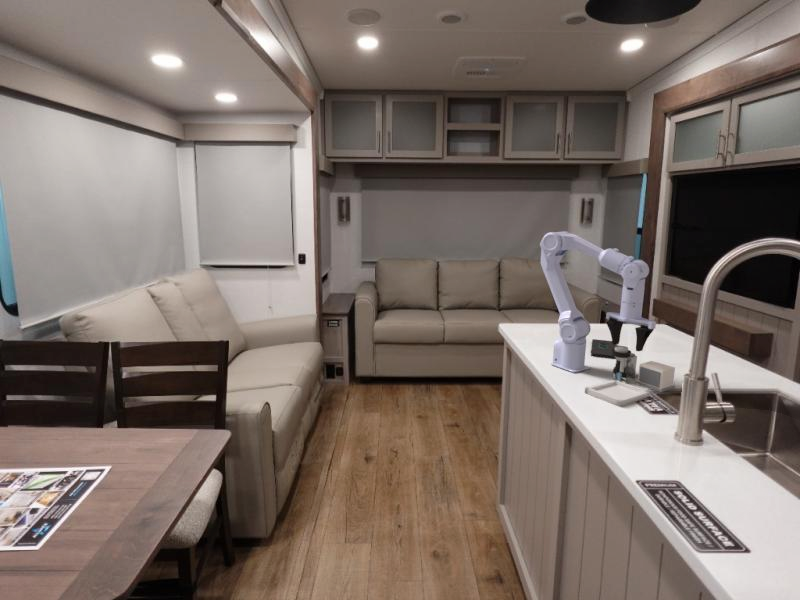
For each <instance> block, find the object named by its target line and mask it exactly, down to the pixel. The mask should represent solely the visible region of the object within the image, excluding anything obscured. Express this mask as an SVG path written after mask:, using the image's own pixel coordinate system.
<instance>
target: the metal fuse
mask: <svg viewBox="0 0 800 600" xmlns="http://www.w3.org/2000/svg"><path fill="white" fill-rule="evenodd" d="M637 361H638V355H636V354H635V353H634V352H633V353H632V352H631V354H630V357H628V358H626V359H625V363H624V368H625V373H627V377H631V378H633V377H635V376H636V373H637V372H636V370H637Z"/></svg>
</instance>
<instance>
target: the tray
mask: <svg viewBox="0 0 800 600" xmlns="http://www.w3.org/2000/svg"><path fill="white" fill-rule="evenodd" d="M584 394H587V395H590V396H591V397H594V398H596V399H599V400H602V401H603V402H606V403H610V404H612V405H615V406H617V407H623V406H626V405H630V404H633V403H637V402H639V401H642V400H645V399H648V398H647V397H649V396H650V397H651V391H649V390H646V389H643V388H640V387H637V386H634V385H632V384H628V383H627V382H626V383H624V382H620V381H617V380H616V379H615V380H614V379H612V380H609V381H605V382H601V383H598V384H594V385H590V386H586V387H584ZM650 397H649V398H650ZM644 398H645V399H644Z"/></svg>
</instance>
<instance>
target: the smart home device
mask: <svg viewBox="0 0 800 600" xmlns="http://www.w3.org/2000/svg"><path fill="white" fill-rule="evenodd" d="M615 346H616V345H613V343H612V340H605V339H596V338H595V339H592V340H591V350H590V356H591V357H592V356H593V358H594V357H595V358H602V359H612V360H616V357H614V356H613V355H612V351H611V350H612V349H614V348H615Z"/></svg>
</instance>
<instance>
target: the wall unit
mask: <svg viewBox="0 0 800 600" xmlns="http://www.w3.org/2000/svg"><path fill="white" fill-rule="evenodd" d="M675 370H676V367H674V366H671V365H667V364H664V363H660V362H657V361H653V360H651V361H646V362H643V363H639V365H638V374H637V375H638V376H637V380H635V381H634V382H635V383H634V384H636V385H639V386H642V387H644V388H648V389H651V390H653V391H657V392H660V393H663V392H667V391H670V390H673V389H675V388H676V385H674V379H675V372H676V371H675Z"/></svg>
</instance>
